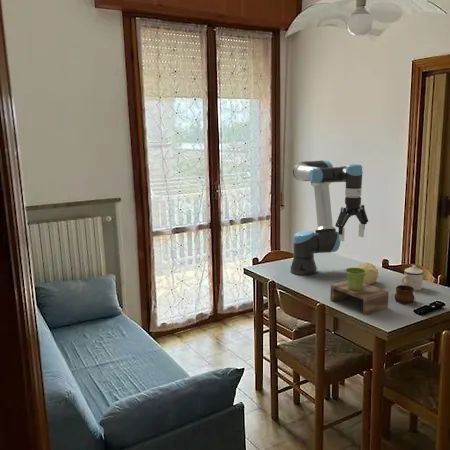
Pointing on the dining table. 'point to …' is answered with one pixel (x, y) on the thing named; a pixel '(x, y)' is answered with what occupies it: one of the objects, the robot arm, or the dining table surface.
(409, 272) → the teacup with lid
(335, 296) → the walnut shelf
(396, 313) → the dining table surface
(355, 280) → the plant pot
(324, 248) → the robot arm
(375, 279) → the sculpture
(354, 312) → the dining table surface
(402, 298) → the ceramic pot
